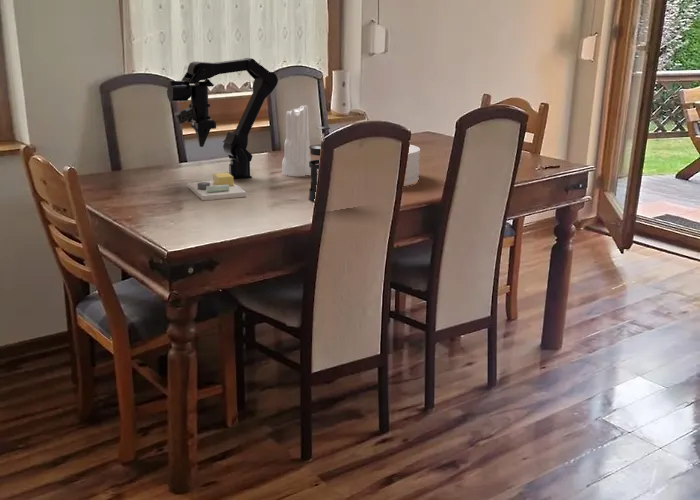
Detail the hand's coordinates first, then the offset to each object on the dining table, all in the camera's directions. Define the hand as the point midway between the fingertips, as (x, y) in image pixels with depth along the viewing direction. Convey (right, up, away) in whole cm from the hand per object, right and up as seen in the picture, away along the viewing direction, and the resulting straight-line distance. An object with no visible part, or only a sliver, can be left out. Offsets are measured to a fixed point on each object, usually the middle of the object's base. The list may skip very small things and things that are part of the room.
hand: (201, 146), depth 266 cm
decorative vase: (+31, -8, +18) cm, 37 cm away
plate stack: (+61, -10, +11) cm, 63 cm away
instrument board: (+7, -16, -12) cm, 22 cm away
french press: (+43, -20, -20) cm, 51 cm away
